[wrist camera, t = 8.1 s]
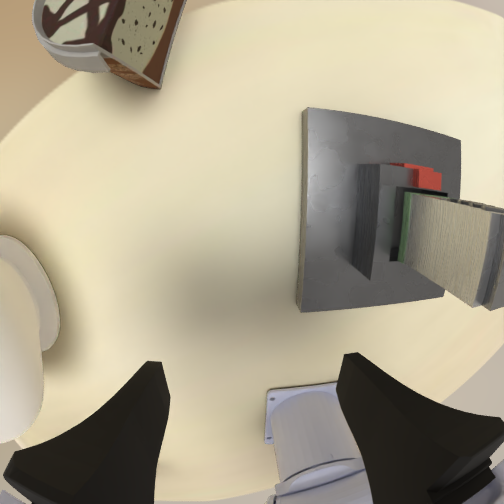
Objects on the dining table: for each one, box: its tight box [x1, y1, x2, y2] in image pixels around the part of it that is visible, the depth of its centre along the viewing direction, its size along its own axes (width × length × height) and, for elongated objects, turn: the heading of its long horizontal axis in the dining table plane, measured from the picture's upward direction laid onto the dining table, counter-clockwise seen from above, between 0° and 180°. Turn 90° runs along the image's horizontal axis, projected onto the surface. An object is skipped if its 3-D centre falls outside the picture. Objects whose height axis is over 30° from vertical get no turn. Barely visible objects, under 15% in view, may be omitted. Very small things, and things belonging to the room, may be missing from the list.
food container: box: [32, 0, 187, 89], centre depth 9 cm, size 12×6×10 cm, turn 171°
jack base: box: [296, 107, 461, 312], centre depth 17 cm, size 14×14×5 cm
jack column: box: [397, 192, 504, 311], centre depth 11 cm, size 4×4×7 cm
